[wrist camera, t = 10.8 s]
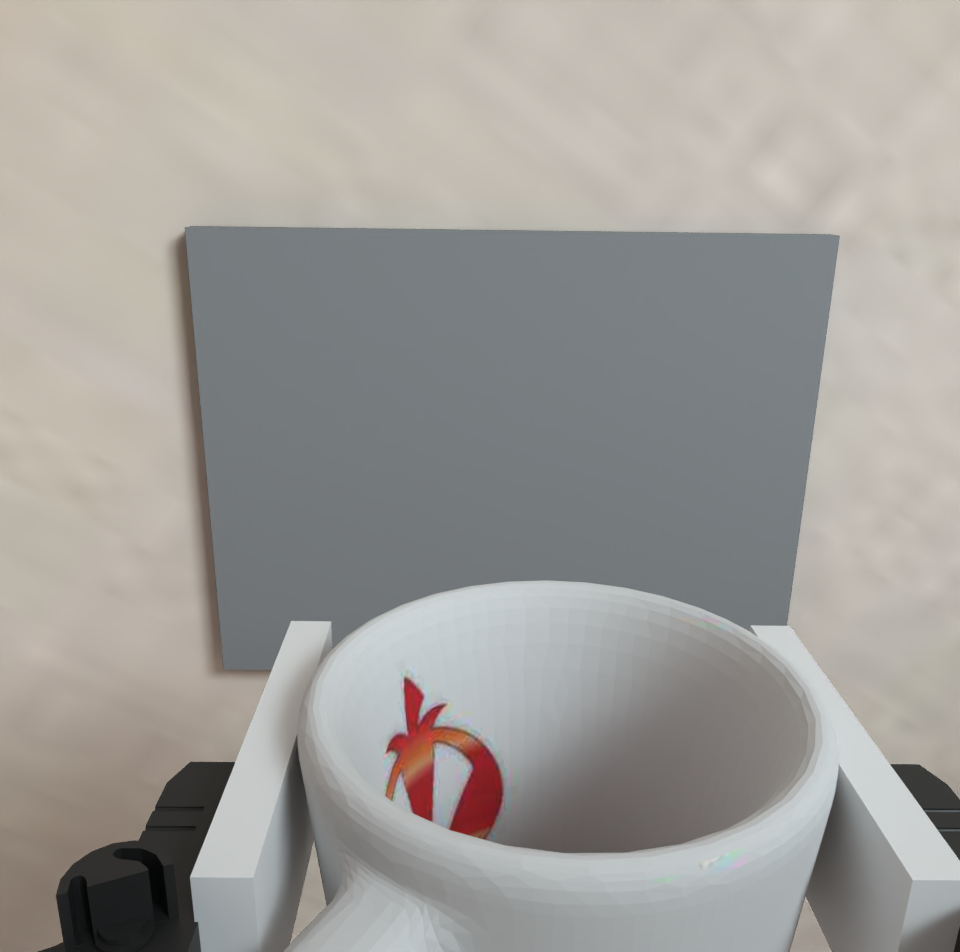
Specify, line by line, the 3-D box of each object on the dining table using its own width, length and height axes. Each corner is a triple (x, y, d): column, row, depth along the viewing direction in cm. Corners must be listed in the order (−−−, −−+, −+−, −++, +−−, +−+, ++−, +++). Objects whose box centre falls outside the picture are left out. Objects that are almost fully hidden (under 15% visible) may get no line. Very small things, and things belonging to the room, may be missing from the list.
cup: (518, 1847, 9) (542, 1290, 6) (67, 1273, 13) (-24, 820, 11) (837, 1033, 17) (902, 658, 14) (494, 853, 21) (498, 544, 19)
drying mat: (830, 234, 30) (839, 235, 29) (773, 661, 35) (780, 672, 34) (192, 226, 29) (184, 227, 28) (229, 659, 34) (223, 669, 33)
